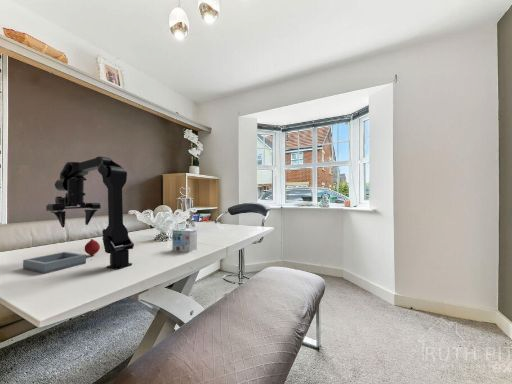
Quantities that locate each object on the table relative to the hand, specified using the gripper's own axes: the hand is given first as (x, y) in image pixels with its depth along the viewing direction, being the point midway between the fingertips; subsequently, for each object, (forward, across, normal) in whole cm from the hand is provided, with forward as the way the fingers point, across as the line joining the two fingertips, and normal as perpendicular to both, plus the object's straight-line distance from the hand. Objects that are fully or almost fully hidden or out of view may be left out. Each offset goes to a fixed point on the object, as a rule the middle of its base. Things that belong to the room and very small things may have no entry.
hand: (75, 226), depth 102 cm
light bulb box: (+15, -34, +32) cm, 49 cm away
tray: (+14, +9, +5) cm, 18 cm away
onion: (+15, -7, +1) cm, 16 cm away
